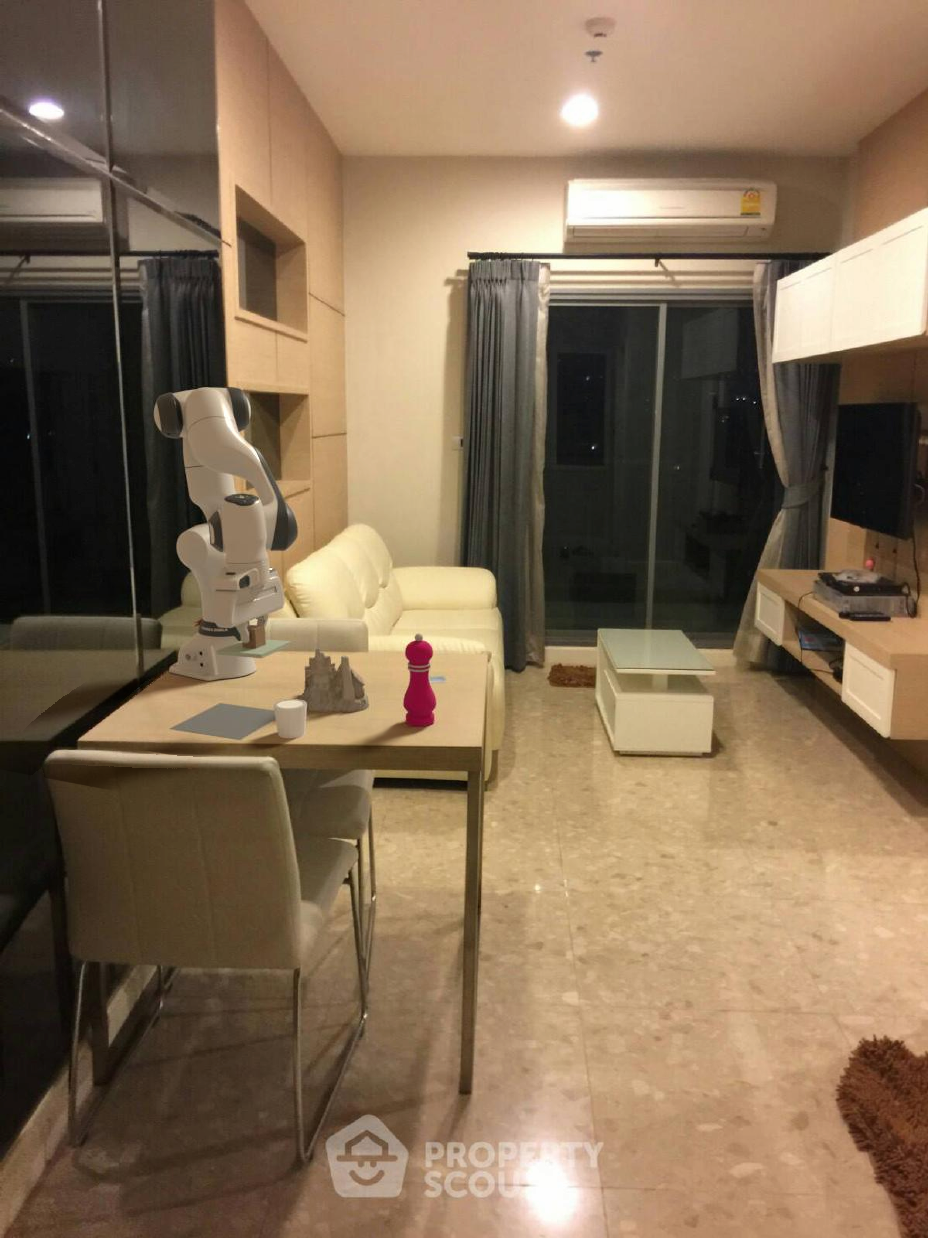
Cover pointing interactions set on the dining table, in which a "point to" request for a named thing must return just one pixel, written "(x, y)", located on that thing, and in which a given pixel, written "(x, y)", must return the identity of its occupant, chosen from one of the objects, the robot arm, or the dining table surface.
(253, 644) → the lid
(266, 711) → the mat
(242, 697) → the dining table surface
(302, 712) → the white cup
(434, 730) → the dining table surface
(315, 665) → the ceramic cottage
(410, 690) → the pepper mill
